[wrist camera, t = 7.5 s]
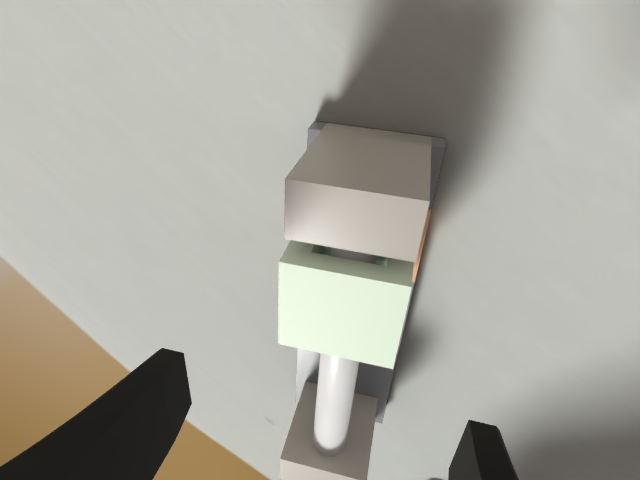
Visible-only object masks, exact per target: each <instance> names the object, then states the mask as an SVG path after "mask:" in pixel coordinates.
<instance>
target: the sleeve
mask: <svg viewBox="0 0 640 480" xmlns="http://www.w3.org/2000/svg"><path fill="white" fill-rule="evenodd" d="M329 251H330V247H327V246H321V245H316V244H310V243H304V242H299V241H293V240H291V241H290V243H289V245H288V246H287V248H286V250H285V252H284V254H283V255H282V257H281V259H280V261H279V302H278V344H281V345H286V346H290V347H295V348H299V349H304V350H308V351H313V352H318V353H322V354H327V355H331V356H336V357H340V358H345V359H349V360H354V361H358V362H363V363H367V364H372V365H376V366H381V367H385V368H390V369H393V368H394V363H395V359H396V354H397V350H398V346H399V341H400V337H401V333H402V328H403V324H404V319H405V315H406V311H407V306H408V302H409V298H410V293H411V289H412V279H413V266H414V262H410V261H404V260H399V259H393V258H388V257H382V256H377V255H376V261H375V264H371V263H366V262H360V261H355V260H350V259H344V258H339V257H333V256H329Z"/></svg>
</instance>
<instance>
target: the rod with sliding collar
mask: <svg viewBox="0 0 640 480" xmlns="http://www.w3.org/2000/svg"><path fill="white" fill-rule="evenodd" d="M445 149H446V143H445V138H438V137H430V136H423V135H415V134H408V133H400V132H392V131H385V130H377V129H370V128H362V127H355V126H347V125H339V124H332V123H324V122H317V121H314V122H313V124H312V125H311V126H310V127H309V128H308V142H307V150H306V152H305V153H304V154H303V156H302V157H301V158H300V160H299V161H298V162H297V164H296V165H295V166H294V168H293V169H292V170H291V172H290V173H289V174H288V176H287V177H286V178H285V217H284V239H288V240H293V241H299V242H304V243H310V244H316V245H321V246H327V247H330V251H329V256H333V257H339V258H344V259H350V260H355V261H360V262H366V263H371V264H375V261H376V255H377V256H382V257H388V258H393V259H399V260H404V261H410V262H414V266H413V279H412V289H411V293H410V298H409V302H408V306H407V311H406V315H405V319H404V324H403V328H402V333H401V337H400V341H399V346H398V350H397V354H396V359H395V363H394V368H393V369H390V368H385V367H381V366H376V365H372V364H367V363H363V362H358V361H354V360H349V359H345V358H340V357H336V356H331V355H327V354H322V353H318V352H313V351H308V350H304V349H299V348H298V356H297V377H296V399H295V402H296V403H298V405H297V408H296V411H295V414H294V418H293V421H292V424H291V427H290V430H289V433H288V436H287V439H286V442H285V445H284V448H283V451H282V455H281V458H280V480H367V474H368V466H369V459H370V452H371V445H372V437H373V430H374V423H375V422H378V423H382V421H383V417H384V413H385V408H386V404H387V400H388V395H389V391H390V387H391V382H392V378H393V374H394V369H395V365H396V361H397V356H398V352H399V348H400V343H401V339H402V335H403V330H404V326H405V322H406V317H407V313H408V309H409V304H410V300H411V296H412V291H413V287H414V283H415V279H416V275H417V270H418V266H419V262H420V257H421V253H422V249H423V244H424V240H425V236H426V231H427V227H428V223H429V218H430V214H431V209H432V205H433V201H434V196H435V192H436V188H437V183H438V179H439V175H440V170H441V166H442V162H443V157H444V153H445Z"/></svg>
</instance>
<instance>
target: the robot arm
mask: <svg viewBox="0 0 640 480" xmlns="http://www.w3.org/2000/svg"><path fill="white" fill-rule="evenodd" d="M191 404H192V402H191V396H190V389H189V383H188V377H187V371H186V365H185V359H184V353H181V352H177V351H173V350H168V349H164V348H162V349H160V350H159V351H157V352H156V353H155V354H154V355H152V356H151V357H150V358H149V359H147V360H146V361H145V362H144V363H142V364H141V365H140V366H139V367H137V368H136V369H135V370H134V371H132V372H131V373H130V374H129V375H127V376H126V377H125V378H124V379H123V380H121V381H120V382H119V383H117V384H116V385H115V386H113V387H112V388H111V389H110V390H108V391H107V392H106V393H104V394H103V395H102V396H100V397H99V398H98V399H96V400H95V401H94V402H93V403H91V404H90V405H89V406H87V407H86V408H85V409H83V410H82V411H81V412H80V413H78V414H77V415H75V416H74V417H73V418H71V419H70V420H69V421H67V422H66V423H64V424H63V425H61V426H60V427H58V428H57V429H56V430H54V431H53V432H51V433H50V434H49V435H47V436H46V437H44V438H43V439H42V440H40V441H39V442H37V443H36V444H34V445H33V446H31V447H30V448H28V449H27V450H25V451H24V452H22V453H21V454H19V455H18V456H16V457H15V458H13V459H12V460H10V461H9V462H7V463H5V464H4V465H2V466H0V480H152V479H153V478H154V476H155V474H156V473H157V471H158V469H159V467H160V466H161V464H162V462H163V461H164V459H165V457H166V456H167V454H168V452H169V450H170V448H171V447H172V445H173V443H174V441H175V439H176V437H177V435H178V433H179V431H180V429H181V427H182V424H183V422H184V420H185V418H186V415H187V413H188V411H189V408H190V406H191ZM449 480H519V479H518V477H517V474H516V472H515V470H514V467H513V465H512V462H511V460H510V457H509V454H508V452H507V449H506V447H505V444H504V441H503V439H502V436H501V433H500V430H499V429H498V428H497V427H496V426H493V425H489V424H484V423H480V422H476V421H472V420H469V421H468V423H467V426H466V428H465V431H464V433H463V435H462V438H461V440H460V443H459V445H458V448H457V450H456V453H455V455H454V457H453V460H452V462H451V465H450V467H449Z"/></svg>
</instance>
